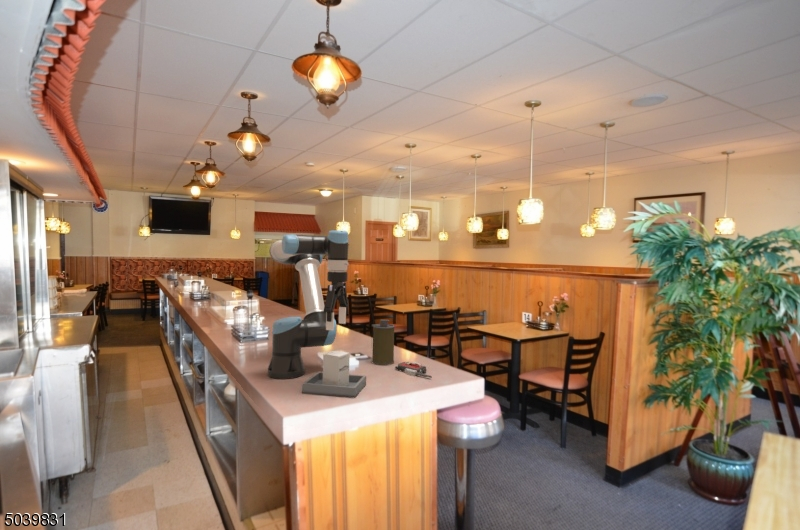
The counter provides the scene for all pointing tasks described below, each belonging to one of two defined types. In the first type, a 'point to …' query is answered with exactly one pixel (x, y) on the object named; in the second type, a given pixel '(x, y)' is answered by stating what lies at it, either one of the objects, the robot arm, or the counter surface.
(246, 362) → the counter surface
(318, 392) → the grey tray
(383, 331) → the canister
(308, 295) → the robot arm
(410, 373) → the red grey elongated piece
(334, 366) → the supplement box
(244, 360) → the counter surface
